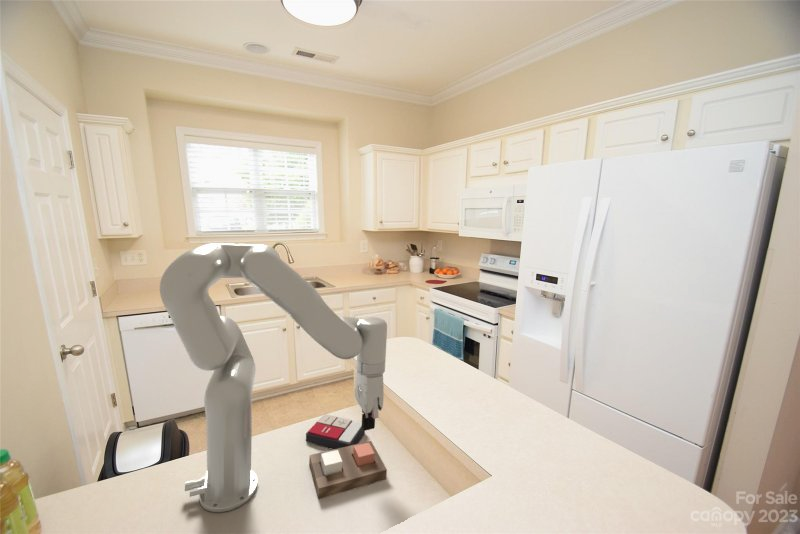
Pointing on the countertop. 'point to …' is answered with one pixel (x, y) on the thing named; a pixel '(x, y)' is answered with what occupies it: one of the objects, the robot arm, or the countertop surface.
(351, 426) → the calculator
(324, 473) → the white key
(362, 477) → the key panel
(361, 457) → the salmon pink key
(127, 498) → the countertop surface
